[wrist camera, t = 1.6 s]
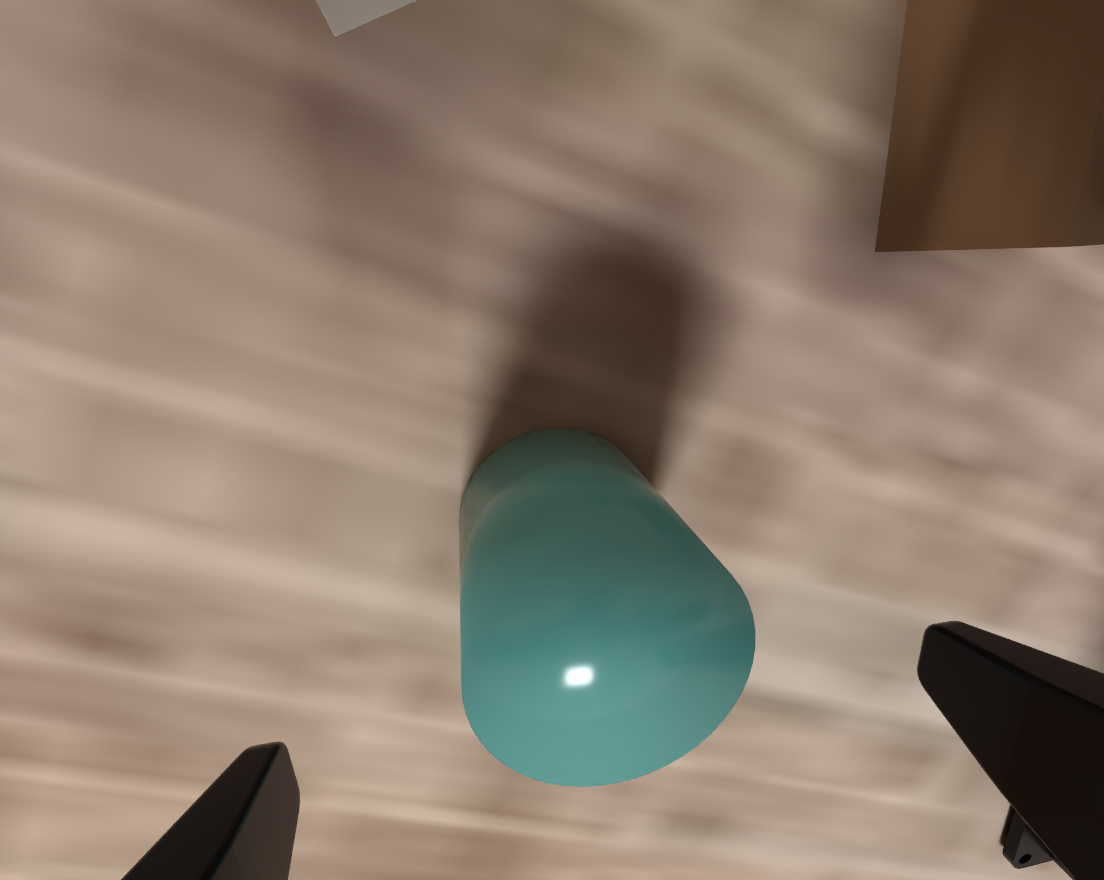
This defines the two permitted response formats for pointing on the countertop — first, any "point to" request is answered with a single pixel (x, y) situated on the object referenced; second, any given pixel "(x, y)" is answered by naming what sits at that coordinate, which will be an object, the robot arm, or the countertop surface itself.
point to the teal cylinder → (590, 615)
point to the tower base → (997, 127)
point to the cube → (356, 12)
